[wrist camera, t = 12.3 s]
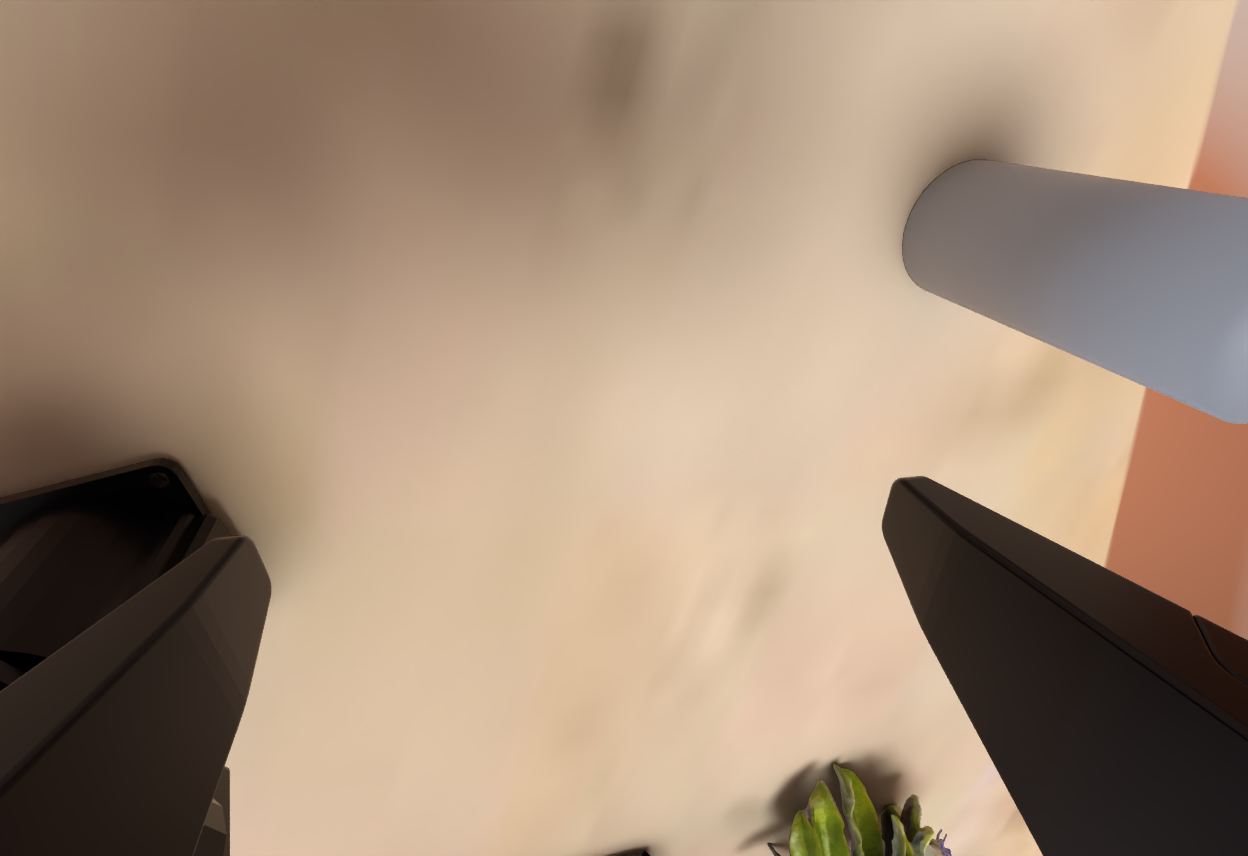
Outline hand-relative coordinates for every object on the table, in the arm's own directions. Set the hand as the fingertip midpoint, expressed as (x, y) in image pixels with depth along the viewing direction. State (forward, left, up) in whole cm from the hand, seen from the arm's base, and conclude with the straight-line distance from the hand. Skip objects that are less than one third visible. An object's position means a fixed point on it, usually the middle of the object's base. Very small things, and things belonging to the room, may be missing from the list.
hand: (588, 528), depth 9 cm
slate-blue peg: (+15, -1, -12) cm, 19 cm away
